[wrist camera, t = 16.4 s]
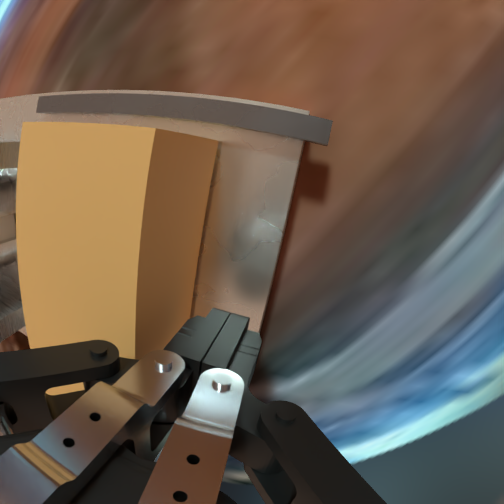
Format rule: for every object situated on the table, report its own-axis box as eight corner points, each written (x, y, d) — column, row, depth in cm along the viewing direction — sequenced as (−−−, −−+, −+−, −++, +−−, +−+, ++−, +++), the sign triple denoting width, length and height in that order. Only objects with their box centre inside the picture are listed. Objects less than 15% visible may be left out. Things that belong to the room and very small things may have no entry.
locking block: (218, 140, 13) (155, 128, 7) (181, 394, 17) (140, 460, 12) (106, 127, 13) (22, 121, 8) (97, 359, 18) (46, 408, 13)
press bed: (331, 121, 13) (342, 87, 7) (253, 418, 19) (228, 496, 12) (-17, 104, 17) (-74, 105, 11) (-17, 292, 22) (-63, 315, 16)
